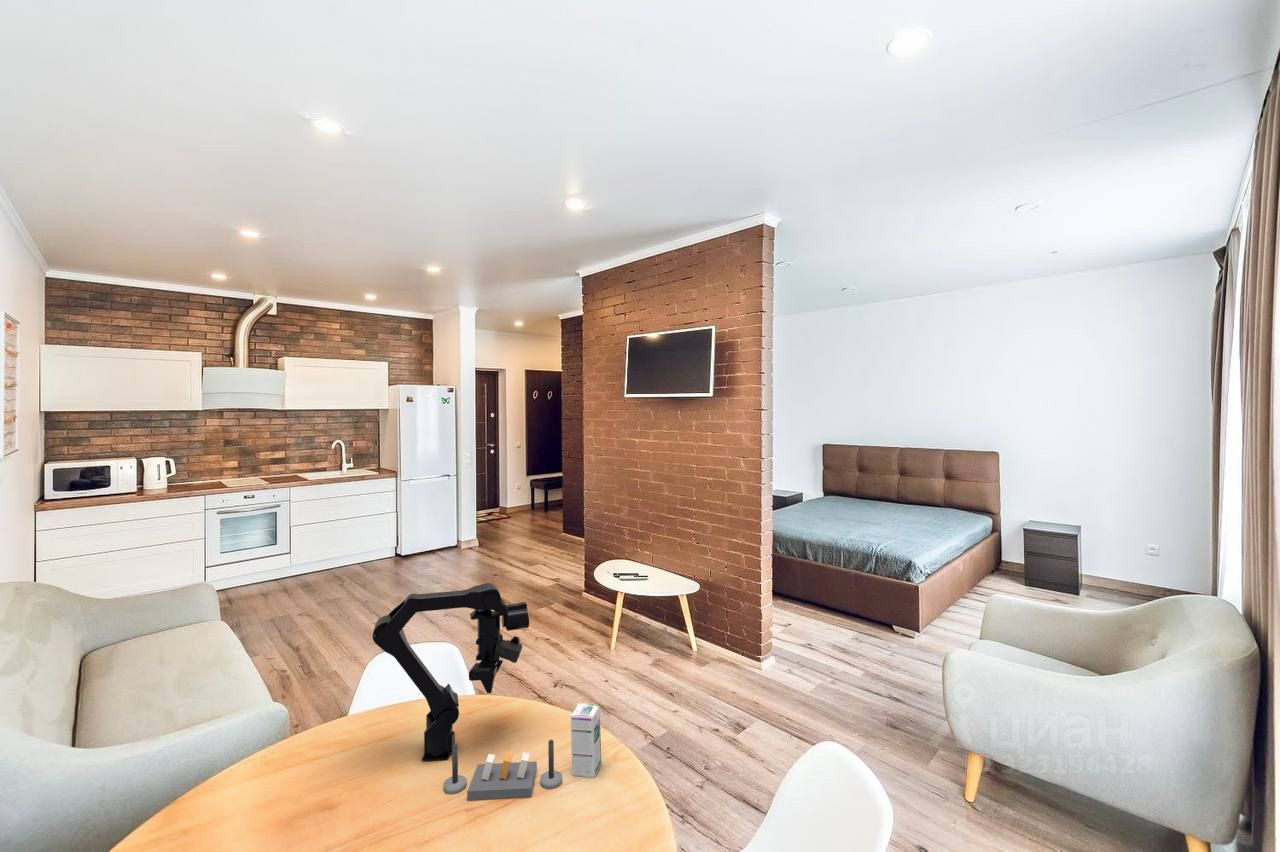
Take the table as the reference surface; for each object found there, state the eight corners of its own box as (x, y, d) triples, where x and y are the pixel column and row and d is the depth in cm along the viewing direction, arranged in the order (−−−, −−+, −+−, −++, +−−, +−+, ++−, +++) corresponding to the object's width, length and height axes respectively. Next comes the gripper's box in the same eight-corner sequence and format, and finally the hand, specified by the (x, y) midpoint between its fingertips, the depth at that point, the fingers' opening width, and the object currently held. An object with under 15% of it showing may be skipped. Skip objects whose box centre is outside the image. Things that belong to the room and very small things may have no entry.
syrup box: (595, 778, 127) (594, 716, 127) (571, 775, 128) (570, 713, 129) (601, 764, 133) (600, 704, 133) (578, 761, 134) (577, 702, 134)
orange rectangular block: (499, 777, 124) (503, 760, 124) (501, 769, 127) (505, 752, 127) (505, 779, 124) (510, 762, 124) (508, 771, 127) (512, 754, 127)
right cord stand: (539, 789, 123) (538, 746, 124) (541, 776, 128) (541, 734, 129) (561, 788, 124) (560, 745, 124) (563, 775, 129) (562, 733, 129)
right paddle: (516, 776, 124) (521, 759, 124) (518, 768, 127) (523, 752, 127) (523, 778, 124) (528, 761, 124) (525, 770, 127) (529, 753, 127)
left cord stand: (440, 795, 122) (440, 751, 122) (447, 781, 127) (447, 738, 127) (463, 793, 122) (463, 749, 123) (468, 779, 127) (468, 737, 128)
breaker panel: (467, 800, 120) (467, 791, 120) (478, 772, 130) (477, 764, 130) (531, 797, 121) (530, 788, 121) (536, 769, 131) (536, 761, 131)
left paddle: (481, 778, 124) (485, 761, 124) (484, 770, 127) (488, 753, 127) (488, 780, 124) (492, 762, 124) (491, 772, 127) (495, 755, 127)
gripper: (513, 645, 135) (514, 708, 134) (525, 620, 153) (525, 675, 153) (468, 647, 134) (468, 710, 134) (485, 621, 153) (485, 677, 152)
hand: (489, 692), depth 143 cm, fingers closed
